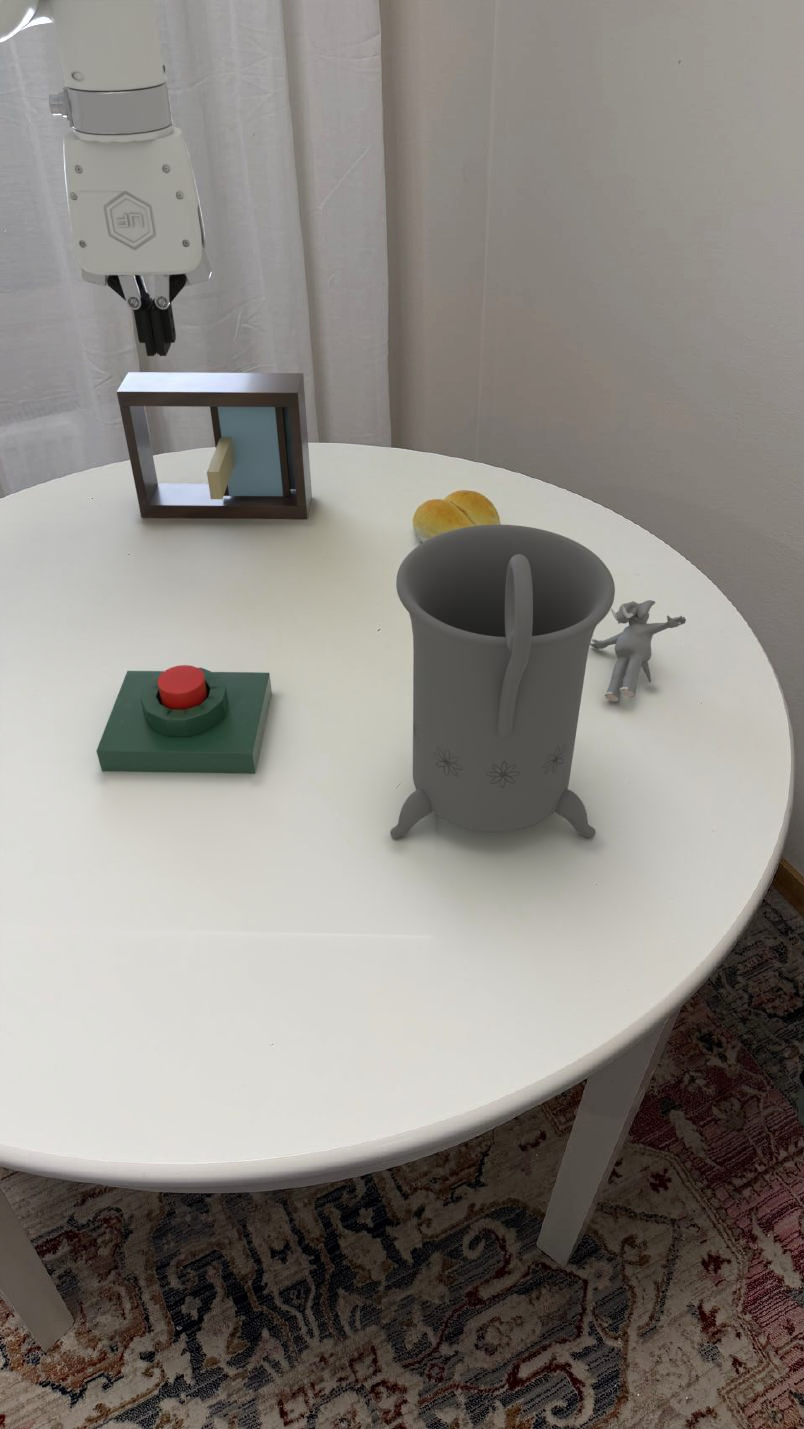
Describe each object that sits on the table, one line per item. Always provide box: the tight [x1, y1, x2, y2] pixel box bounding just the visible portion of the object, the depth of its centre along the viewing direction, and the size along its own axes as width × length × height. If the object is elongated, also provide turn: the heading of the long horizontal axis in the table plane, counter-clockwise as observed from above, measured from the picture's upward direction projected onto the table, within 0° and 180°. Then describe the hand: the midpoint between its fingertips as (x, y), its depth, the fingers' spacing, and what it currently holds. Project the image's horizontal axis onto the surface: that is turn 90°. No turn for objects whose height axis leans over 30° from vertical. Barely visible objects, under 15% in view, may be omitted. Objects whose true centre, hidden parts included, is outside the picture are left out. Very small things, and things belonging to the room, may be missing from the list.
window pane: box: [206, 407, 291, 499], centre depth 102 cm, size 7×8×10 cm
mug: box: [389, 524, 616, 840], centre depth 67 cm, size 19×15×25 cm
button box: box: [95, 667, 273, 775], centre depth 80 cm, size 12×10×4 cm
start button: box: [158, 664, 207, 710], centre depth 79 cm, size 4×4×2 cm
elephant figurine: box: [590, 599, 687, 703], centre depth 85 cm, size 10×6×9 cm
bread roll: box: [412, 489, 502, 543], centre depth 104 cm, size 8×9×4 cm
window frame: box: [116, 371, 313, 520], centre depth 105 cm, size 18×5×14 cm, turn 88°
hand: (159, 350), depth 89 cm, fingers closed
